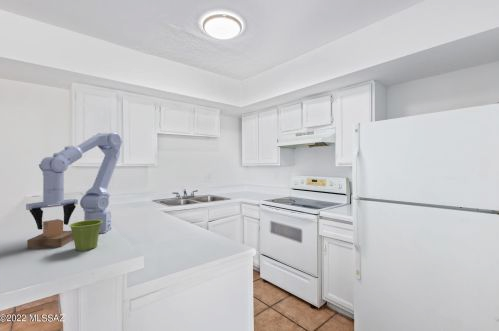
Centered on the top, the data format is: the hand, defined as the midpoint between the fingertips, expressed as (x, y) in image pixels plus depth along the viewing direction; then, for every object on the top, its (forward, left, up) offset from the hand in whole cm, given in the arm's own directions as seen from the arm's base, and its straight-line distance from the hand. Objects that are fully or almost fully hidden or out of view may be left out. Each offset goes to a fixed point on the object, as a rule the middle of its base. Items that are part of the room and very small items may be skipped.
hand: (53, 226), depth 85 cm
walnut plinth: (0, 0, -6) cm, 6 cm away
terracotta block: (0, 0, -3) cm, 3 cm away
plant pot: (-14, +8, -6) cm, 17 cm away
